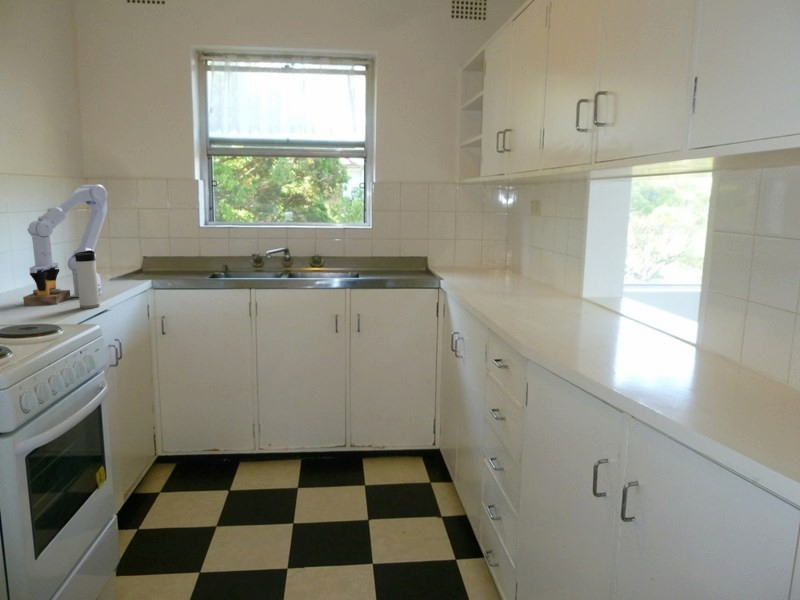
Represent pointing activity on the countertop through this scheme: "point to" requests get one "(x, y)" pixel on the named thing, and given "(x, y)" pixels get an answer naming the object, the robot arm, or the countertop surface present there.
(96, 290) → the travel mug
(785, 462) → the countertop surface
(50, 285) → the orange notched block
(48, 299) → the square wooden frame
